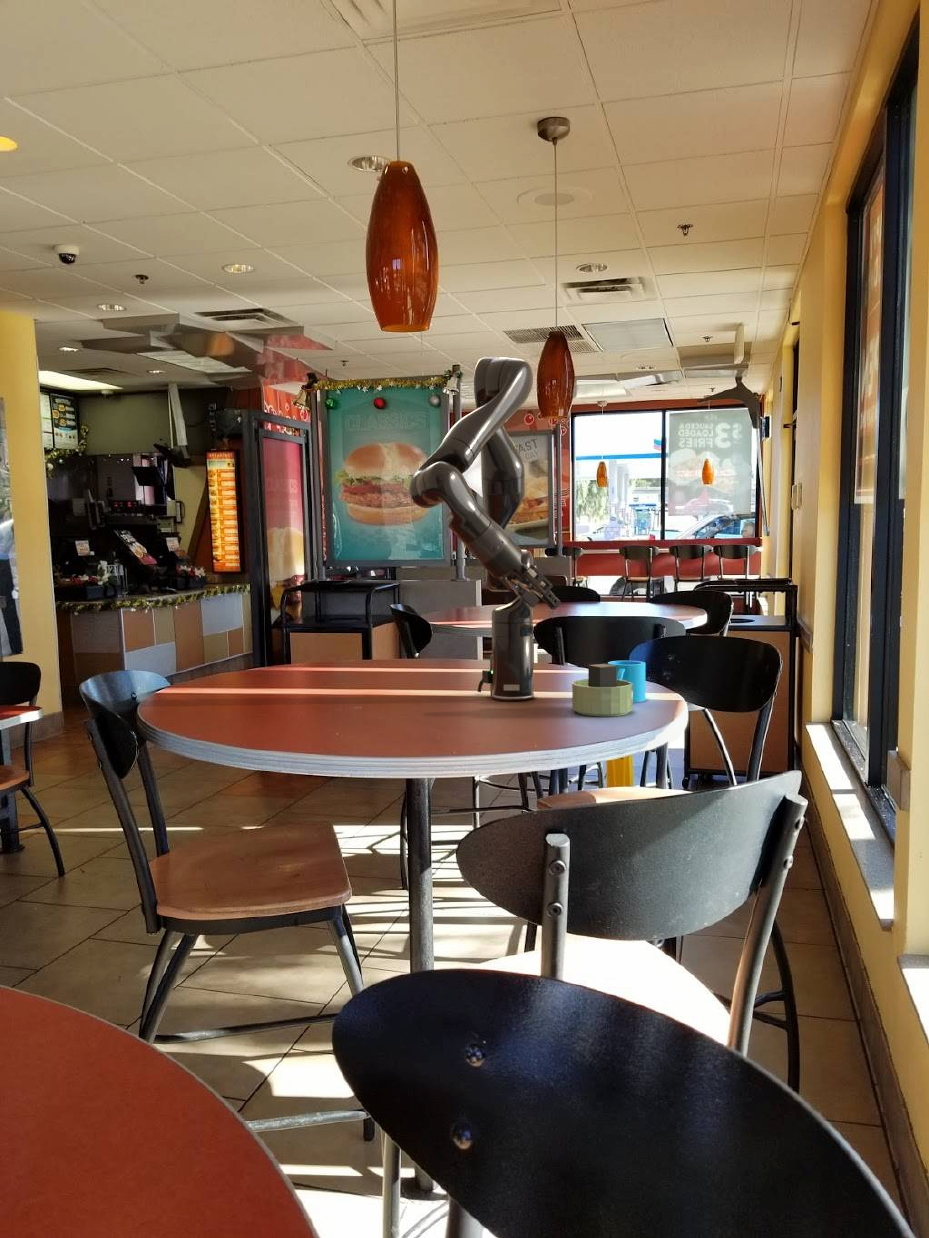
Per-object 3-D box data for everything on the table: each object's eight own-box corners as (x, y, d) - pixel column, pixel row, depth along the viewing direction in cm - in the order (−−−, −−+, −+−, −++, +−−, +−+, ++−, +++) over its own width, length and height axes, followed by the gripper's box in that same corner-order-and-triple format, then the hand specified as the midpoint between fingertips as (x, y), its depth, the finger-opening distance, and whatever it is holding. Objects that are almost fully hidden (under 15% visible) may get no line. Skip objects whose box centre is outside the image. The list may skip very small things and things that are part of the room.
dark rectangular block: (599, 711, 187) (599, 667, 186) (588, 708, 191) (588, 664, 190) (616, 709, 188) (616, 666, 188) (604, 706, 192) (604, 663, 192)
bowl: (560, 711, 191) (560, 682, 191) (603, 704, 198) (603, 676, 198) (600, 719, 181) (600, 689, 181) (645, 712, 188) (645, 683, 188)
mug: (612, 695, 210) (612, 660, 209) (648, 697, 206) (648, 661, 206) (599, 704, 199) (599, 666, 198) (637, 706, 195) (637, 668, 195)
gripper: (522, 533, 170) (576, 593, 176) (489, 533, 183) (540, 589, 188) (497, 562, 168) (552, 622, 174) (464, 561, 181) (517, 617, 187)
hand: (546, 605), depth 181 cm, fingers open, 8 cm apart
